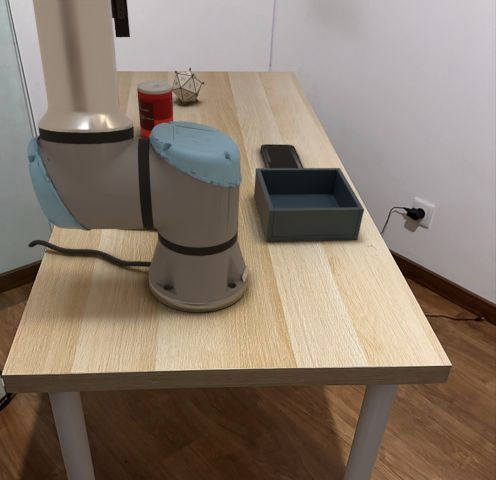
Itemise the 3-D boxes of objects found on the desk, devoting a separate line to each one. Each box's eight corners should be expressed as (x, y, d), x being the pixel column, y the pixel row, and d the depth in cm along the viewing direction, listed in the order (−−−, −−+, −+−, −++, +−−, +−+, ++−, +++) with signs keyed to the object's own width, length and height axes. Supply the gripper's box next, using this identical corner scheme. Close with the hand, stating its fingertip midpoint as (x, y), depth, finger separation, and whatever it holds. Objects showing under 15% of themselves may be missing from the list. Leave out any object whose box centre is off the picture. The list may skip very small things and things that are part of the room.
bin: (266, 241, 94) (269, 210, 90) (253, 197, 106) (255, 168, 102) (357, 239, 96) (364, 209, 92) (334, 196, 108) (339, 167, 104)
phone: (293, 144, 124) (305, 172, 113) (293, 149, 124) (305, 177, 113) (259, 144, 123) (268, 172, 112) (259, 149, 123) (268, 177, 113)
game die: (181, 117, 146) (156, 87, 139) (191, 97, 150) (168, 66, 143) (205, 107, 140) (181, 74, 134) (215, 86, 144) (192, 53, 137)
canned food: (176, 130, 129) (175, 81, 122) (170, 143, 124) (167, 92, 116) (145, 127, 130) (141, 78, 122) (137, 140, 124) (132, 89, 116)
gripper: (136, -99, 88) (145, 45, 103) (119, -115, 104) (130, 10, 119) (88, -100, 86) (105, 46, 101) (80, -117, 103) (96, 10, 118)
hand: (119, 27), depth 110 cm, fingers open, 13 cm apart
